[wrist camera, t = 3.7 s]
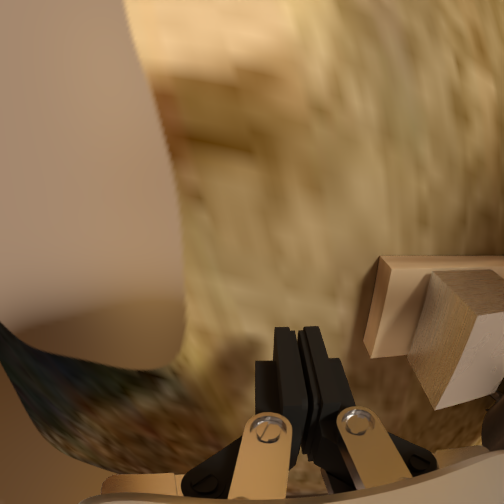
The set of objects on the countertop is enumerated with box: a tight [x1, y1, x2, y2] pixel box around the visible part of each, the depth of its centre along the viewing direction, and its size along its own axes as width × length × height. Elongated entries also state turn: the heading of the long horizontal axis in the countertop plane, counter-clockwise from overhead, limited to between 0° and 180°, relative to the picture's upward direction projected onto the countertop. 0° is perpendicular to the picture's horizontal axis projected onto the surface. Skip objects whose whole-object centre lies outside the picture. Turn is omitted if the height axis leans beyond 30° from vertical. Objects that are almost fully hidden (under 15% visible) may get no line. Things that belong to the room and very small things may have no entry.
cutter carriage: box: [407, 269, 504, 410], centre depth 11 cm, size 5×5×4 cm
